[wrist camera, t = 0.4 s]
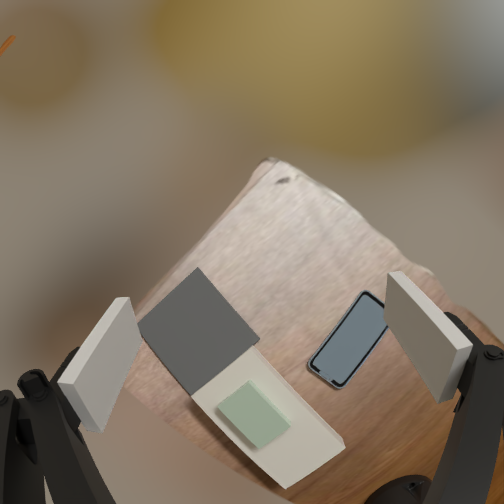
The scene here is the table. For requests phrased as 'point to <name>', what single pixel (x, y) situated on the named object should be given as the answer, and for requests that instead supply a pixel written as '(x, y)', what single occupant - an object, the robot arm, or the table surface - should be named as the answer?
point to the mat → (196, 332)
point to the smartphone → (350, 340)
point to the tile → (254, 414)
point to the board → (289, 403)
